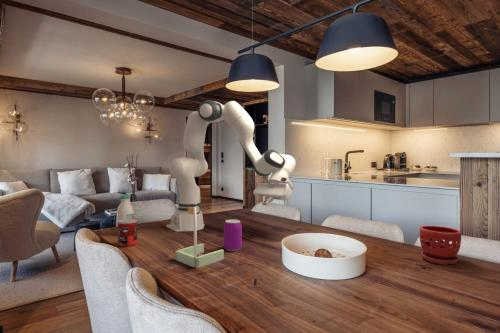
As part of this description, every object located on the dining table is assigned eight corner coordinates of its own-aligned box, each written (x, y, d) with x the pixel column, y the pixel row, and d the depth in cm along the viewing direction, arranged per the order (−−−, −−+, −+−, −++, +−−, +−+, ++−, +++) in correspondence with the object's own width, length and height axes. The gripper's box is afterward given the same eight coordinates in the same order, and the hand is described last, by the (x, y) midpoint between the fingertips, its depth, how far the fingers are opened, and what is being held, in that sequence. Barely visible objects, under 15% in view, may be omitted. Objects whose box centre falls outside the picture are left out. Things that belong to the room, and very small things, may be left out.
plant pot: (466, 268, 105) (466, 234, 105) (422, 264, 110) (423, 231, 109) (455, 256, 117) (455, 225, 117) (416, 253, 122) (416, 223, 121)
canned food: (115, 245, 137) (114, 220, 137) (132, 241, 143) (132, 218, 143) (123, 248, 132) (122, 223, 132) (140, 244, 138) (140, 220, 137)
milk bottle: (121, 237, 151) (120, 196, 150) (115, 234, 157) (114, 195, 156) (136, 234, 156) (135, 195, 155) (131, 231, 162) (130, 194, 161)
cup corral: (175, 259, 117) (174, 203, 116) (202, 251, 126) (201, 200, 126) (196, 268, 108) (195, 207, 107) (223, 259, 117) (223, 203, 116)
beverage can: (243, 251, 127) (242, 222, 126) (224, 252, 125) (224, 223, 125) (240, 245, 134) (240, 218, 134) (223, 246, 133) (222, 219, 133)
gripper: (258, 177, 157) (245, 198, 150) (291, 179, 143) (278, 202, 136) (264, 185, 160) (251, 206, 154) (296, 187, 146) (284, 211, 140)
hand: (264, 204), depth 145 cm, fingers closed
